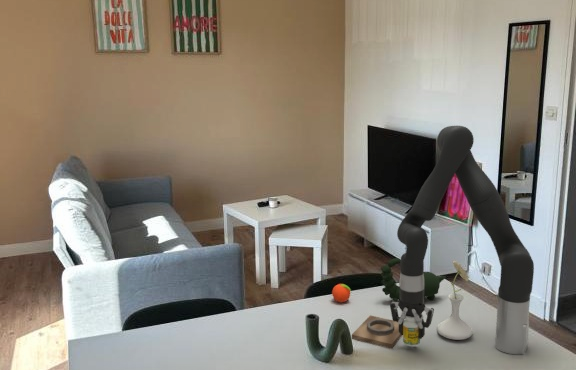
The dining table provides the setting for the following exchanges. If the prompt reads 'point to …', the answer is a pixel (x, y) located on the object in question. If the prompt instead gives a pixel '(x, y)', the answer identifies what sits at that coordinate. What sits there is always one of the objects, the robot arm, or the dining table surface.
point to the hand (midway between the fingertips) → (411, 335)
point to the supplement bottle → (410, 331)
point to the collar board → (378, 332)
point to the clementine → (341, 292)
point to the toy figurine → (391, 288)
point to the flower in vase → (455, 313)
